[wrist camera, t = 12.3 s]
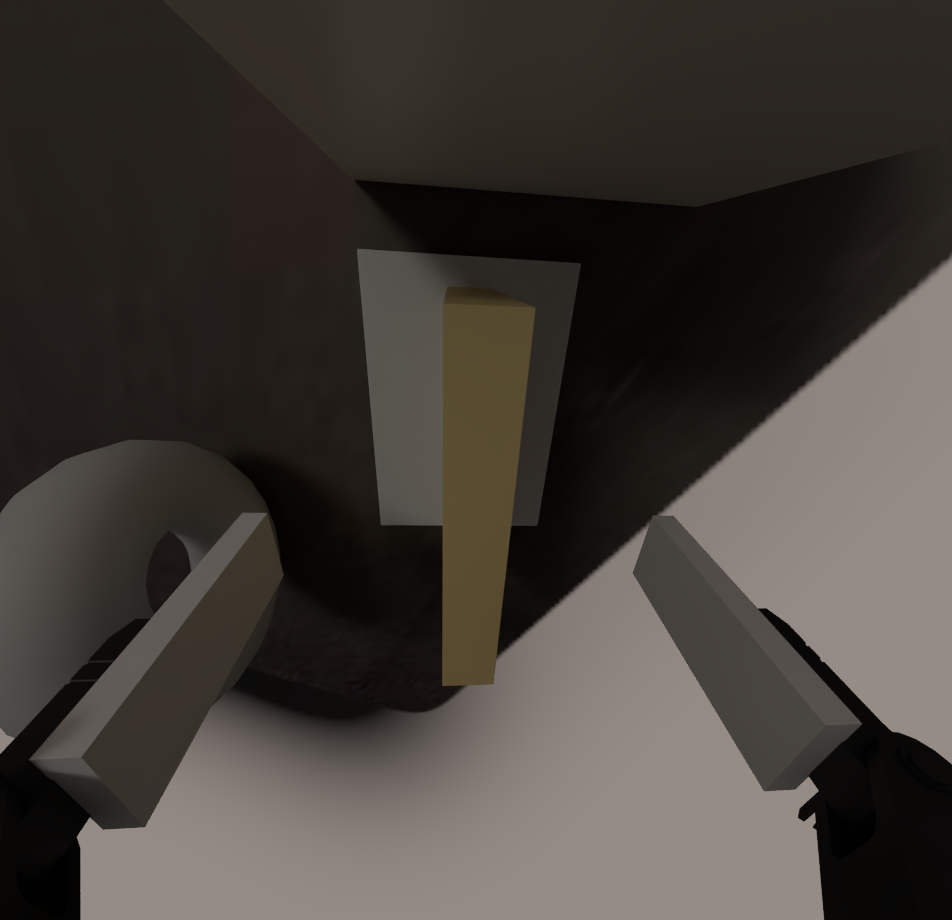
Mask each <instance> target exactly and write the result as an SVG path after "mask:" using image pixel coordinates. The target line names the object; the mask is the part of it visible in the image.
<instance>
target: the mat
mask: <svg viewBox="0 0 952 920" xmlns="http://www.w3.org/2000/svg"><path fill="white" fill-rule="evenodd" d="M357 254H358V266H359V277H360V289H361V300H362V312H363V323H364V335H365V346H366V358H367V370H368V381H369V393H370V404H371V416H372V427H373V439H374V450H375V462H376V473H377V485H378V497H379V508H380V520H381V525H443V302H444V298H445V294H446V290H447V286H453V287H474V288H491V289H494V290H496V291H498V292H501V293H503V294H505V295H507V296H510V297H512V298H514V299H517V300H519V301H521V302H524V303H526V304H528V305H531V306H533V307H535V308H536V309H535V318H534V327H533V336H532V345H531V354H530V362H529V371H528V380H527V389H526V398H525V407H524V416H523V425H522V433H521V442H520V451H519V460H518V469H517V478H516V487H515V496H514V504H513V513H512V522H511V526H537V524H538V518H539V512H540V506H541V500H542V494H543V488H544V482H545V476H546V470H547V464H548V458H549V452H550V446H551V440H552V434H553V428H554V422H555V416H556V410H557V404H558V398H559V392H560V386H561V380H562V374H563V368H564V362H565V356H566V350H567V345H568V339H569V333H570V327H571V321H572V315H573V309H574V303H575V297H576V291H577V285H578V279H579V273H580V267H581V263H567V262H552V261H536V260H521V259H505V258H490V257H475V256H459V255H444V254H428V253H413V252H397V251H382V250H366V249H357Z"/></svg>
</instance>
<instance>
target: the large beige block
mask: <svg viewBox="0 0 952 920" xmlns="http://www.w3.org/2000/svg"><path fill="white" fill-rule="evenodd" d="M163 1H164V2H165V3H166V4H167V5H168V6H169V7H170V8H171V9H173V10H174V11H175V12H176V13H177V14H178V15H179V16H180V17H181V18H182V19H183V20H184V21H185V22H186V23H187V24H189V25H190V26H191V27H192V28H193V29H194V30H195V31H196V32H197V33H198V34H199V35H200V36H201V37H202V38H203V39H204V40H206V41H207V42H208V43H209V44H210V45H211V46H212V47H213V48H214V49H215V50H216V51H217V52H218V53H219V54H220V55H222V56H223V57H224V58H225V59H226V60H227V61H228V62H229V63H230V64H231V65H232V66H233V67H234V68H235V69H236V70H237V71H239V72H240V73H241V74H242V75H243V76H244V77H245V78H246V79H247V80H248V81H249V82H250V83H251V84H252V85H253V86H255V87H256V88H257V89H258V90H259V91H260V92H261V93H262V94H263V95H264V96H265V97H266V98H267V99H268V100H269V101H271V102H272V103H273V104H274V105H275V106H276V107H277V108H278V109H279V110H280V111H281V112H282V113H283V114H284V115H285V116H286V117H288V118H289V119H290V120H291V121H292V122H293V123H294V124H295V125H296V126H297V127H298V128H299V129H300V130H301V131H302V132H304V133H305V134H306V135H307V136H308V137H309V138H310V139H311V140H312V141H313V142H314V143H315V144H316V145H317V146H318V147H319V148H321V149H322V150H323V151H324V152H325V153H326V154H327V155H328V156H329V157H330V158H331V159H332V160H333V161H334V162H335V163H337V164H338V165H339V166H340V167H341V168H342V169H343V170H344V171H345V172H346V173H347V174H348V175H349V176H350V177H351V178H353V179H354V180H364V181H376V182H389V183H401V184H414V185H426V186H439V187H452V188H464V189H477V190H489V191H502V192H514V193H527V194H540V195H552V196H565V197H577V198H590V199H602V200H615V201H628V202H640V203H653V204H665V205H678V206H691V207H699V206H702V205H706V204H710V203H714V202H718V201H722V200H725V199H729V198H733V197H737V196H741V195H745V194H748V193H752V192H756V191H760V190H764V189H767V188H771V187H775V186H779V185H783V184H787V183H790V182H794V181H798V180H802V179H806V178H809V177H813V176H817V175H821V174H825V173H829V172H832V171H836V170H840V169H844V168H848V167H851V166H855V165H859V164H863V163H867V162H871V161H874V160H878V159H882V158H886V157H890V156H894V155H897V154H901V153H905V152H909V151H913V150H916V149H920V148H924V147H928V146H932V145H936V144H939V143H943V142H947V141H951V140H952V0H163Z"/></svg>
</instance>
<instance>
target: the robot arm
mask: <svg viewBox="0 0 952 920" xmlns="http://www.w3.org/2000/svg"><path fill="white" fill-rule="evenodd" d="M633 574H634V576H635V578H636V579H637V581H638V582H639V584H640V586H641V587H642V589H643V591H644V592H645V594H646V596H647V597H648V599H649V601H650V602H651V604H652V606H653V607H654V609H655V611H656V612H657V614H658V616H659V617H660V619H661V620H662V622H663V624H664V626H665V627H666V629H667V630H668V632H669V634H670V636H671V637H672V639H673V641H674V642H675V644H676V646H677V647H678V649H679V651H680V652H681V654H682V656H683V657H684V659H685V661H686V662H687V664H688V665H689V667H690V669H691V671H692V672H693V674H694V676H695V677H696V679H697V680H698V682H699V684H700V686H701V687H702V689H703V690H704V692H705V694H706V696H707V697H708V699H709V700H710V702H711V704H712V706H713V707H714V708H715V710H716V712H717V714H718V715H719V717H720V719H721V720H722V722H723V724H724V725H725V727H726V729H727V730H728V732H729V734H730V735H731V737H732V739H733V740H734V742H735V744H736V745H737V747H738V749H739V750H740V752H741V754H742V755H743V757H744V759H745V760H746V762H747V764H748V765H749V767H750V769H751V770H752V772H753V774H754V775H755V777H756V778H757V780H758V782H759V784H760V785H761V787H762V789H763V790H764V791H776V790H792V789H793V790H794V789H796V788H797V787H798V786H799V785H800V784H801V783H802V782H803V781H804V780H805V779H806V778H807V777H810V779H811V780H812V781H813V783H814V784H815V786H816V787H817V789H818V790H819V791H818V792H817V793H816V794H815V795H814V796H813V797H812V798H811V799H810V800H809V801H807V802H806V803H805V804H804V805H803V806H802V807H801V808H800V810H799V814H798V818H799V819H801V820H802V821H805V820H806V819H808V818H809V817H810V816H811V815H812V814H813V813H815V816H816V823H815V825H814V826H813V828H815V829H816V830H817V840H818V852H819V864H820V876H821V888H822V900H823V910H824V920H952V764H951V763H949V762H948V761H947V760H946V759H944V758H943V757H942V756H941V755H939V754H938V753H937V752H936V751H934V750H933V749H931V748H930V747H928V746H926V745H925V744H923V743H921V742H920V741H918V740H916V739H914V738H911V737H909V736H906V735H904V734H901V733H897V732H892V731H891V730H889V729H888V728H887V727H886V726H885V725H884V724H883V723H882V722H881V721H880V720H879V719H878V718H877V717H876V716H875V715H874V714H873V713H872V712H871V710H870V709H869V708H868V707H867V706H866V705H865V704H864V703H863V702H862V701H861V700H860V699H859V698H858V697H857V696H856V695H855V694H854V693H853V692H852V691H851V690H850V688H849V687H848V686H847V685H846V684H845V683H844V682H843V681H842V680H841V679H840V678H839V677H838V676H837V675H836V674H835V673H834V672H833V671H832V670H831V669H830V668H829V666H827V664H826V663H825V662H822V661H821V660H820V657H819V656H818V655H817V654H816V653H815V652H814V651H813V650H812V649H811V648H810V647H809V646H806V644H805V642H804V640H803V639H802V638H801V637H800V636H799V635H798V634H797V633H796V632H795V631H794V630H793V629H792V628H791V627H790V626H789V625H788V624H787V623H786V622H784V621H783V620H781V619H780V618H779V617H777V616H776V615H775V614H773V613H772V612H770V611H769V610H768V609H766V608H765V609H757V607H756V606H755V605H754V604H753V603H752V602H751V601H750V600H749V599H748V598H747V596H745V594H744V593H743V592H742V591H741V590H740V589H739V588H738V587H737V585H736V584H735V583H734V582H733V581H732V580H731V579H730V578H729V577H728V576H727V574H726V573H725V572H724V571H723V570H722V569H721V568H720V567H719V566H718V565H717V563H715V561H714V560H713V559H712V558H711V557H710V556H709V555H708V553H707V552H706V551H705V550H704V549H703V548H702V547H701V546H700V545H699V544H698V542H697V541H696V540H695V539H694V538H693V537H692V536H691V535H690V534H689V533H688V531H687V530H686V529H685V528H684V527H683V526H682V525H681V524H680V523H679V522H678V520H677V519H676V518H675V517H674V516H653V517H652V520H651V522H650V525H649V528H648V531H647V534H646V537H645V540H644V543H643V545H642V548H641V551H640V554H639V557H638V560H637V563H636V565H635V568H634V571H633ZM283 576H284V574H283V571H282V567H281V563H280V559H279V556H278V552H277V548H276V544H275V540H274V537H273V533H272V529H271V525H270V522H269V518H268V514H267V513H242V514H241V515H240V516H239V517H238V519H237V520H236V521H235V522H234V523H233V524H232V526H231V527H230V528H229V529H228V530H227V531H226V533H225V534H224V535H223V536H222V537H221V538H220V539H219V541H218V542H217V543H216V544H215V545H214V546H213V548H212V549H211V550H210V551H209V552H208V553H207V554H206V556H205V557H204V558H203V559H202V560H201V561H200V563H199V564H198V565H197V566H196V567H195V568H194V570H193V571H192V572H191V573H190V574H189V575H188V576H187V578H186V579H185V580H184V581H183V582H182V583H181V585H180V586H179V587H178V588H177V589H176V590H175V592H174V593H173V594H172V595H171V596H170V597H169V598H168V600H167V601H166V602H165V603H164V604H163V605H162V607H161V608H160V609H159V610H158V611H157V612H156V614H155V615H154V616H153V617H152V618H151V619H135V620H133V621H132V622H130V623H129V624H128V625H126V626H125V627H123V628H122V629H121V630H119V631H118V632H116V633H115V634H114V635H112V636H111V637H109V638H108V639H107V640H106V642H105V643H104V644H103V645H102V646H101V647H100V648H99V649H98V650H97V651H96V652H95V653H94V654H93V655H92V657H91V658H90V659H89V660H88V663H87V664H86V665H83V666H82V667H81V668H80V669H79V670H78V672H77V673H76V674H75V675H74V676H73V677H72V678H71V679H70V680H71V681H70V683H69V684H65V685H64V687H63V688H62V689H61V690H60V691H59V692H58V693H57V694H56V695H55V696H54V697H53V698H52V699H51V700H50V702H49V703H48V704H47V705H46V706H45V707H44V708H43V709H42V710H41V711H40V712H39V713H38V714H37V715H36V717H35V718H34V719H33V720H32V721H31V722H30V723H29V724H28V725H27V726H26V727H25V728H24V729H23V730H22V731H21V733H20V734H19V735H18V736H17V737H16V738H15V739H14V740H13V741H12V742H11V743H10V744H9V745H8V746H7V748H6V749H5V750H4V751H3V752H2V753H1V754H0V920H80V846H79V843H78V840H77V836H78V834H79V832H80V831H81V830H82V828H83V827H84V825H85V823H86V822H87V820H88V819H89V817H90V818H91V819H92V820H94V821H95V822H96V823H97V824H98V825H99V826H100V827H101V828H102V829H119V828H137V827H145V826H146V824H147V822H148V820H149V819H150V817H151V815H152V813H153V811H154V810H155V808H156V806H157V804H158V802H159V800H160V798H161V797H162V795H163V793H164V791H165V790H166V788H167V786H168V784H169V782H170V780H171V779H172V777H173V775H174V773H175V771H176V770H177V768H178V766H179V764H180V762H181V760H182V759H183V757H184V755H185V753H186V751H187V750H188V748H189V746H190V744H191V742H192V741H193V739H194V737H195V735H196V733H197V731H198V730H199V728H200V726H201V724H202V722H203V721H204V719H205V717H206V715H207V713H208V711H209V710H210V708H211V706H212V704H213V702H214V701H215V699H216V697H217V695H218V693H219V692H220V690H221V688H222V686H223V684H224V683H225V681H226V679H227V677H228V675H229V673H230V672H231V670H232V668H233V666H234V664H235V663H236V661H237V659H238V657H239V655H240V654H241V652H242V650H243V648H244V646H245V644H246V643H247V641H248V639H249V637H250V635H251V634H252V632H253V630H254V628H255V626H256V625H257V623H258V621H259V619H260V617H261V615H262V614H263V612H264V610H265V608H266V606H267V605H268V603H269V601H270V599H271V597H272V595H273V594H274V592H275V590H276V588H277V586H278V585H279V583H280V581H281V579H282V577H283Z"/></svg>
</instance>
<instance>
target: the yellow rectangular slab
mask: <svg viewBox="0 0 952 920" xmlns="http://www.w3.org/2000/svg"><path fill="white" fill-rule="evenodd" d="M535 309H536V308H535V307H533V306H531V305H528V304H526V303H524V302H521V301H519V300H517V299H514V298H512V297H510V296H507V295H505V294H503V293H501V292H498V291H496V290H494V289H491V288H474V287H453V286H447V290H446V294H445V298H444V302H443V662H442V686H454V685H480V684H481V685H482V684H493V682H494V673H495V664H496V655H497V646H498V638H499V629H500V620H501V611H502V602H503V593H504V584H505V575H506V567H507V558H508V549H509V540H510V531H511V522H512V513H513V504H514V496H515V487H516V478H517V469H518V460H519V451H520V442H521V433H522V425H523V416H524V407H525V398H526V389H527V380H528V371H529V362H530V354H531V345H532V336H533V327H534V318H535Z"/></svg>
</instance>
